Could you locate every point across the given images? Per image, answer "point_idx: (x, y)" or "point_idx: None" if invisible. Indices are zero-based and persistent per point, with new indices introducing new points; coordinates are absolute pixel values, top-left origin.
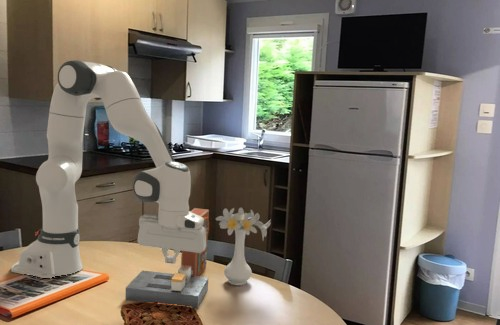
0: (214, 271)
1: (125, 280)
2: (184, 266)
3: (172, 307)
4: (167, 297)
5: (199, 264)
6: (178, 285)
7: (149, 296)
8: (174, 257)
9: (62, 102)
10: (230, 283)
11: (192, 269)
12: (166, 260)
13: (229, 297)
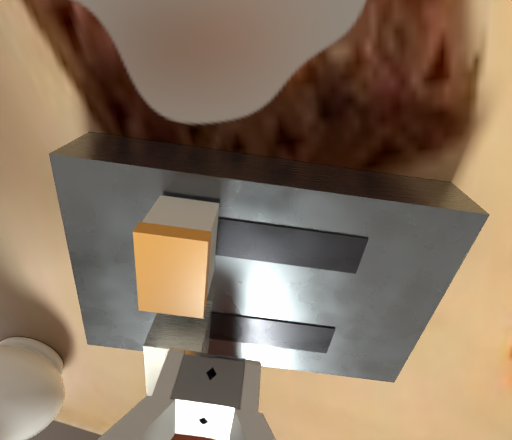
0: None
1: (444, 344)
2: None
3: (212, 134)
4: (238, 168)
5: None
6: (167, 213)
7: (338, 179)
8: (149, 406)
9: None
10: (47, 346)
11: None
12: (244, 376)
13: (2, 251)
